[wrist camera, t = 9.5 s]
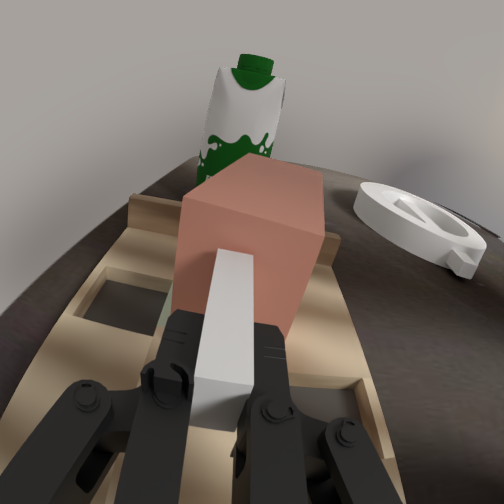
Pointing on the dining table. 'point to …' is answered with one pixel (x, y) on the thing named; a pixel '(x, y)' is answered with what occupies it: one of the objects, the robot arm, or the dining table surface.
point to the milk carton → (240, 115)
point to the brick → (252, 235)
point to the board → (148, 340)
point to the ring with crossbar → (420, 227)
